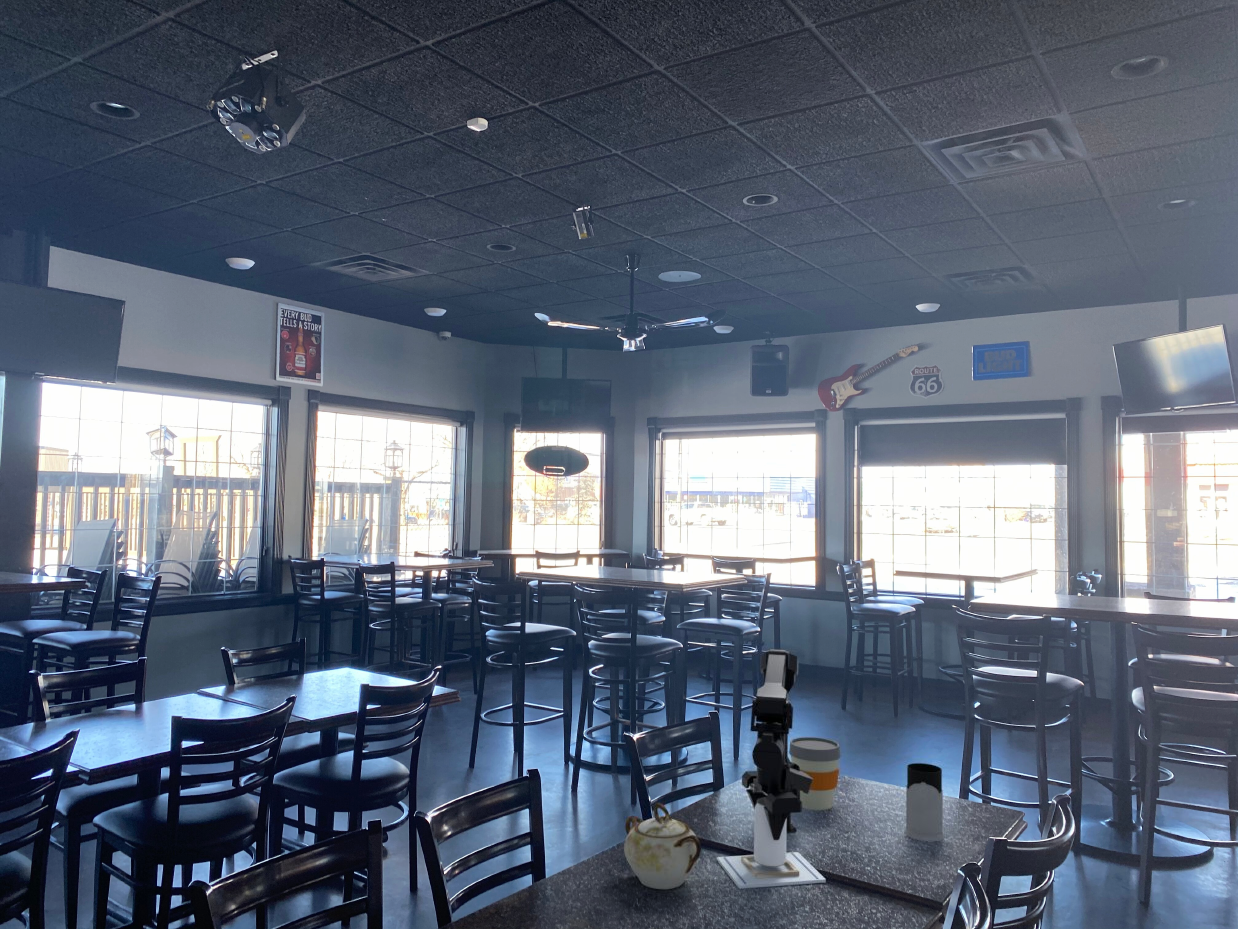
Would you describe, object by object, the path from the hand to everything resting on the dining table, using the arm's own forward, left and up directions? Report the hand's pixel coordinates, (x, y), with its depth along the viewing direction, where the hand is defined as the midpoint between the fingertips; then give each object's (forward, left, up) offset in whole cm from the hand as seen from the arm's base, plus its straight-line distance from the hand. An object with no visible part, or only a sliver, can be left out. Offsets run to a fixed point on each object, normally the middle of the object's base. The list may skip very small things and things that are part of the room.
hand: (770, 833), depth 183 cm
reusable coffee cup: (-37, +26, -8) cm, 46 cm away
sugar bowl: (+1, -23, -8) cm, 24 cm away
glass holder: (-16, +44, -8) cm, 47 cm away
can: (0, 0, -6) cm, 6 cm away
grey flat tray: (0, 0, -7) cm, 7 cm away
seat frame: (0, 0, -7) cm, 7 cm away
